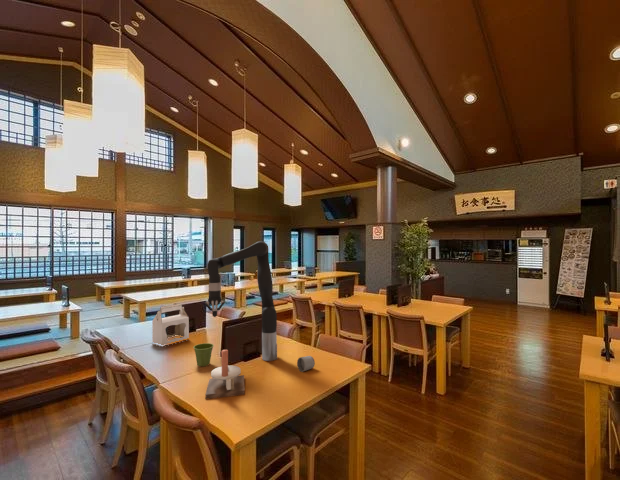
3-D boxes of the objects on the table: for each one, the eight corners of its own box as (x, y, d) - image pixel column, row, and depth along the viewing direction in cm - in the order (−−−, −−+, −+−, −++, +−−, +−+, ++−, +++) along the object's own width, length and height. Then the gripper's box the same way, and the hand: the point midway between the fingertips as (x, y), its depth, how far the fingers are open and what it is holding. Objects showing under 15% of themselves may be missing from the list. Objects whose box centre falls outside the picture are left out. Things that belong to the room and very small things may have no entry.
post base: (244, 378, 165) (244, 364, 166) (244, 394, 148) (244, 377, 148) (209, 382, 162) (209, 367, 162) (205, 398, 144) (205, 381, 144)
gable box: (161, 347, 220) (161, 308, 221) (151, 344, 227) (151, 306, 228) (189, 339, 238) (189, 303, 239) (179, 336, 246) (179, 302, 246)
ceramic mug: (315, 369, 177) (315, 356, 177) (305, 373, 172) (304, 359, 172) (304, 364, 185) (304, 351, 185) (293, 368, 180) (293, 355, 180)
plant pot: (207, 369, 180) (207, 349, 180) (189, 367, 182) (189, 348, 182) (217, 361, 191) (217, 343, 191) (200, 360, 194) (200, 342, 194)
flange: (221, 374, 164) (221, 341, 164) (245, 377, 160) (245, 343, 160) (204, 386, 149) (204, 351, 150) (230, 390, 145) (230, 353, 146)
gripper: (203, 290, 192) (203, 318, 191) (225, 290, 195) (225, 317, 194) (204, 289, 199) (204, 316, 199) (225, 288, 202) (225, 314, 201)
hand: (214, 316), depth 196 cm, fingers closed
